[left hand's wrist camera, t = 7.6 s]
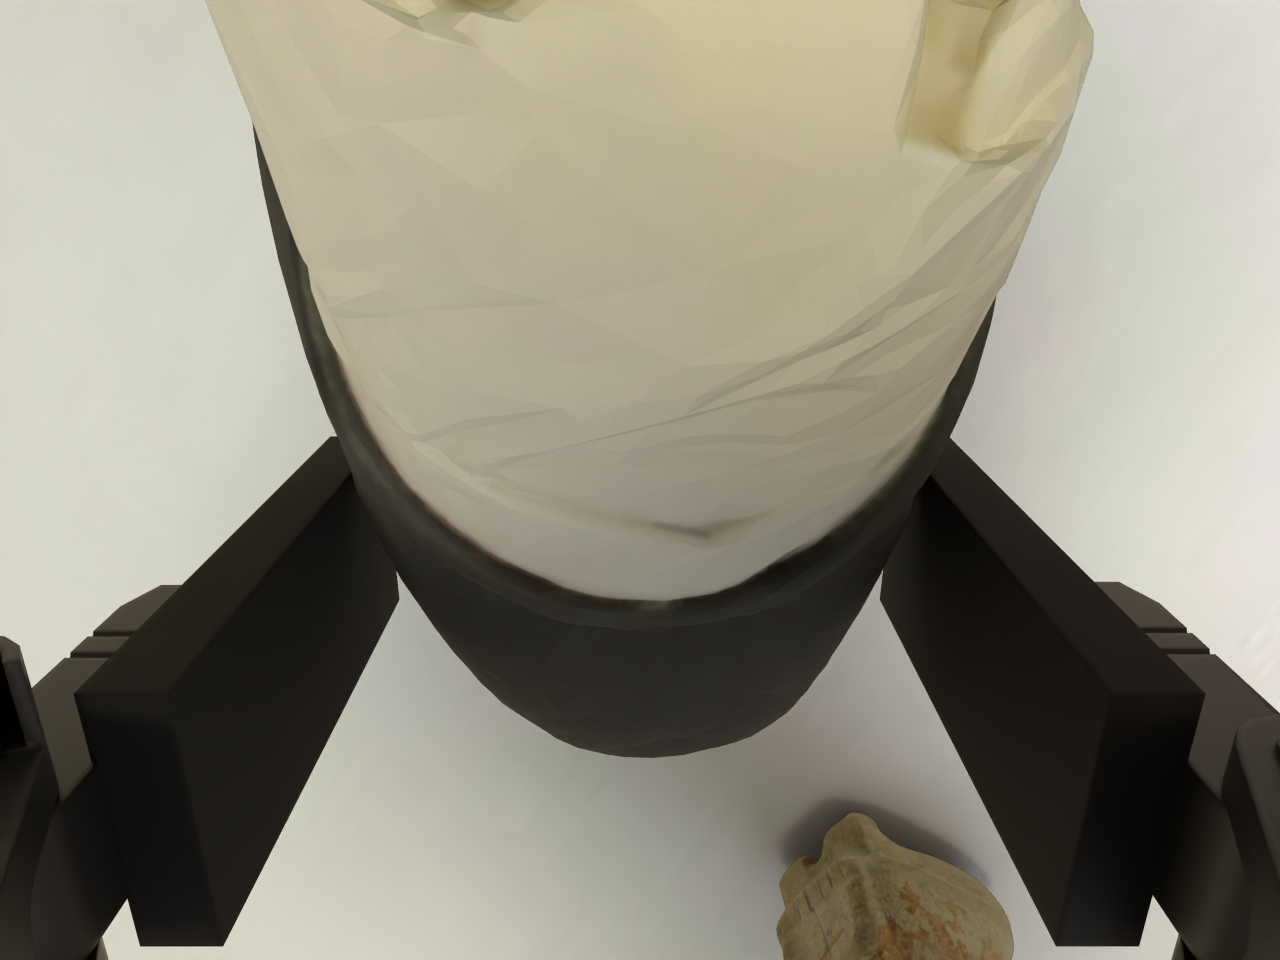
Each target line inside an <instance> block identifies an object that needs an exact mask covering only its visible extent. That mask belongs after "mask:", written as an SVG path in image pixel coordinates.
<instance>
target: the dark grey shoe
mask: <svg viewBox="0 0 1280 960" xmlns="http://www.w3.org/2000/svg"><path fill="white" fill-rule="evenodd" d="M205 2H206V4H207V7H208V9H209V12H210V14H211V17H212V19H213V22H214V24H215V27H216V30H217V32H218V35H219V37H220V40H221V42H222V45H223V47H224V50H225V52H226V55H227V57H228V60H229V63H230V65H231V68H232V70H233V73H234V75H235V78H236V80H237V83H238V85H239V88H240V90H241V93H242V96H243V98H244V101H245V103H246V106H247V108H248V111H249V113H250V116H251V119H252V122H253V130H254V137H255V143H256V150H257V156H258V163H259V169H260V174H261V180H262V186H263V191H264V196H265V200H266V205H267V209H268V214H269V218H270V223H271V227H272V232H273V236H274V241H275V245H276V250H277V254H278V259H279V263H280V266H281V270H282V273H283V277H284V280H285V284H286V287H287V291H288V294H289V298H290V301H291V305H292V308H293V312H294V316H295V319H296V323H297V326H298V330H299V333H300V337H301V340H302V344H303V347H304V351H305V354H306V357H307V360H308V363H309V366H310V368H311V371H312V374H313V377H314V379H315V382H316V385H317V388H318V391H319V394H320V397H321V399H322V401H323V404H324V407H325V410H326V412H327V415H328V417H329V419H330V421H331V423H332V425H333V428H334V430H335V432H336V434H337V436H338V439H339V441H340V444H341V447H342V449H343V452H344V454H345V457H346V459H347V462H348V465H349V467H350V470H351V473H352V476H353V480H354V483H355V487H356V491H357V494H358V497H359V499H360V501H361V503H362V505H363V508H364V510H365V512H366V514H367V516H368V518H369V520H370V523H371V525H372V527H373V529H374V531H375V533H376V535H377V537H378V538H379V540H380V542H381V544H382V546H383V547H384V549H385V551H386V553H387V554H388V556H389V558H390V560H391V562H392V563H393V565H394V567H395V569H396V571H397V572H398V574H399V576H400V578H401V579H402V581H403V583H404V584H405V585H406V587H407V588H408V590H409V591H410V592H411V594H412V595H413V597H414V598H415V600H416V601H417V602H418V604H419V605H420V607H421V608H422V610H423V611H424V613H425V614H426V615H427V617H428V618H429V620H430V621H431V623H432V624H433V626H434V627H435V628H436V630H437V631H438V632H439V634H440V635H441V636H442V637H443V639H444V640H445V641H446V643H447V644H448V645H449V647H450V648H451V649H452V650H453V652H454V653H455V654H456V655H457V656H458V657H459V658H460V659H461V660H462V662H463V663H464V664H465V665H466V666H467V667H468V668H469V669H470V670H471V671H472V673H473V674H474V675H475V676H476V677H477V679H478V680H479V681H480V682H481V683H482V684H483V685H484V686H485V687H486V688H487V689H488V690H490V691H491V692H492V693H493V694H494V695H495V696H496V697H497V698H498V699H499V700H500V701H501V702H502V703H503V704H504V705H506V706H507V707H509V708H510V709H512V710H513V711H515V712H516V713H518V714H520V715H521V716H523V717H524V718H526V719H527V720H529V721H531V722H532V723H534V724H535V725H537V726H539V727H540V728H542V729H543V730H545V731H547V732H548V733H550V734H551V735H552V736H554V737H555V738H557V739H559V740H562V741H564V742H566V743H568V744H571V745H573V746H575V747H577V748H582V749H586V750H590V751H595V752H599V753H603V754H608V755H615V756H622V757H645V758H655V757H666V756H676V755H685V754H689V753H693V752H697V751H701V750H706V749H710V748H715V747H720V746H723V745H727V744H730V743H734V742H737V741H739V740H742V739H745V738H748V737H751V736H752V735H754V734H756V733H757V732H759V731H760V730H762V729H764V728H765V727H767V726H769V725H770V724H772V723H773V722H774V721H776V720H777V719H779V718H780V717H781V716H783V715H784V714H786V713H787V712H788V711H789V710H790V709H791V708H792V707H793V706H794V705H795V704H796V702H797V701H798V700H799V699H800V698H801V696H802V695H803V694H804V693H805V692H806V691H807V690H808V689H809V687H810V686H811V684H812V683H813V681H814V680H815V678H816V677H817V676H818V675H819V674H820V672H821V671H822V670H823V669H824V667H825V666H826V665H827V663H828V661H829V659H830V657H831V656H832V654H833V653H834V651H835V650H836V648H837V647H838V646H839V644H840V642H841V641H842V639H843V637H844V636H845V634H846V633H847V631H848V629H849V628H850V626H851V624H852V623H853V621H854V620H855V618H856V617H857V615H858V614H859V612H860V610H861V608H862V607H863V605H864V603H865V601H866V600H867V598H868V596H869V594H870V592H871V590H872V588H873V587H874V585H875V583H876V581H877V580H878V578H879V576H880V574H881V572H882V570H883V568H884V566H885V564H886V563H887V561H888V559H889V557H890V555H891V552H892V551H893V549H894V547H895V545H896V544H897V542H898V540H899V539H900V537H901V535H902V533H903V531H904V528H905V526H906V523H907V521H908V519H909V516H910V512H911V509H912V506H913V503H914V500H915V497H916V494H917V491H918V490H919V489H920V488H921V487H922V485H923V484H924V483H925V481H926V479H927V478H928V476H929V475H930V473H931V471H932V470H933V468H934V467H935V465H936V464H937V462H938V460H939V458H940V456H941V454H942V452H943V450H944V448H945V446H946V443H947V441H948V439H949V437H950V435H951V433H952V431H953V429H954V427H955V425H956V423H957V420H958V418H959V416H960V414H961V411H962V409H963V407H964V404H965V402H966V400H967V397H968V395H969V393H970V391H971V388H972V386H973V384H974V381H975V377H976V374H977V370H978V367H979V363H980V360H981V356H982V353H983V350H984V346H985V343H986V339H987V336H988V332H989V329H990V325H991V321H992V316H993V311H994V305H995V299H996V295H997V293H998V291H999V289H1000V288H1001V287H1002V286H1003V285H1004V284H1005V282H1006V280H1007V277H1008V275H1009V272H1010V270H1011V267H1012V265H1013V262H1014V260H1015V257H1016V255H1017V253H1018V250H1019V248H1020V245H1021V243H1022V240H1023V238H1024V235H1025V233H1026V230H1027V228H1028V225H1029V223H1030V221H1031V218H1032V215H1033V213H1034V210H1035V207H1036V204H1037V202H1038V199H1039V196H1040V193H1041V191H1042V189H1043V187H1044V185H1045V183H1046V181H1047V179H1048V177H1049V175H1050V173H1051V171H1052V170H1053V168H1054V166H1055V164H1056V162H1057V160H1058V158H1059V156H1060V154H1061V151H1062V148H1063V144H1064V141H1065V138H1066V135H1067V132H1068V129H1069V126H1070V123H1071V120H1072V117H1073V114H1074V111H1075V107H1076V104H1077V101H1078V98H1079V95H1080V92H1081V89H1082V86H1083V83H1084V79H1085V76H1086V73H1087V70H1088V67H1089V64H1090V61H1091V58H1092V55H1093V29H1092V27H1091V25H1090V24H1089V22H1088V20H1087V18H1086V16H1085V14H1084V12H1083V10H1082V8H1081V6H1080V0H205Z"/></svg>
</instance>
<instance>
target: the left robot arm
mask: <svg viewBox="0 0 1280 960" xmlns="http://www.w3.org/2000/svg"><path fill="white" fill-rule="evenodd" d="M398 601H399V592H398V582H397V573H396V569H395V567H394V565H393V563H392V562H391V560H390V558H389V556H388V554H387V553H386V551H385V549H384V547H383V546H382V544H381V542H380V540H379V538H378V537H377V535H376V533H375V531H374V529H373V527H372V525H371V523H370V520H369V518H368V516H367V514H366V512H365V510H364V508H363V505H362V503H361V501H360V499H359V497H358V494H357V491H356V487H355V483H354V480H353V476H352V473H351V470H350V467H349V465H348V462H347V459H346V457H345V454H344V452H343V449H342V447H341V444H340V441H339V439H338V437H330V438H329V439H328V440H327V441H326V442H325V443H324V444H323V445H322V446H321V447H320V448H319V449H318V450H317V451H316V452H315V453H314V454H313V455H312V456H311V457H310V458H309V459H308V460H307V461H306V462H305V463H304V464H303V465H302V466H301V467H300V468H299V469H298V470H297V471H296V472H295V473H294V474H293V475H292V476H291V477H290V478H289V479H288V480H287V481H286V482H285V483H284V484H283V485H282V486H281V487H280V488H279V489H278V490H277V491H276V492H275V493H274V494H273V495H272V496H271V497H270V498H269V499H268V500H267V501H266V502H265V503H264V504H263V505H262V506H261V507H260V508H259V509H258V510H257V511H256V512H255V513H254V514H253V515H252V516H251V517H250V518H249V519H248V520H247V521H246V522H245V523H244V524H243V525H242V526H241V527H240V528H239V529H238V530H237V531H236V532H235V533H234V534H233V535H232V536H231V537H230V538H229V539H228V540H226V541H225V542H224V543H223V544H222V545H221V546H220V547H219V548H218V549H217V550H216V551H215V552H214V553H213V554H212V555H211V556H210V557H209V558H208V559H207V560H206V561H205V562H204V563H203V564H202V565H201V566H200V567H199V568H198V569H197V570H196V571H195V572H194V573H193V574H192V575H191V576H190V577H189V578H188V579H187V580H186V581H185V582H184V583H183V584H182V585H160V586H158V587H157V588H155V589H153V590H151V591H149V592H147V593H145V594H143V595H141V596H139V597H138V598H136V599H134V600H132V601H130V602H128V603H126V604H124V605H122V606H120V607H119V608H118V609H117V610H116V611H115V612H114V613H113V614H112V615H111V616H110V617H109V618H107V619H106V620H105V621H104V622H103V623H102V624H101V625H100V626H99V627H98V628H97V629H95V630H94V631H93V637H87V638H86V639H85V640H84V641H82V642H81V643H80V644H79V645H78V646H77V647H76V648H75V649H74V650H73V651H72V652H71V653H70V654H71V656H70V658H64V659H63V660H62V661H61V662H60V663H59V664H58V665H56V666H55V667H54V668H53V669H52V670H51V671H50V672H49V673H48V674H47V675H46V676H45V677H43V678H42V679H41V680H40V681H39V682H38V683H37V684H36V685H35V686H34V687H33V688H31V685H30V681H29V678H28V674H27V670H26V667H25V663H24V660H23V656H22V653H21V649H20V646H19V645H18V644H16V643H14V642H13V641H11V640H10V639H8V638H6V637H5V636H0V960H108V956H107V953H106V949H105V946H104V942H103V939H102V936H103V934H104V933H105V931H106V930H107V928H108V927H109V925H110V924H111V922H112V921H113V919H114V918H115V916H116V915H117V913H118V912H119V910H120V909H121V907H122V906H123V904H124V903H125V901H126V900H127V898H128V902H129V906H130V910H131V913H132V917H133V921H134V925H135V929H136V932H137V936H138V940H139V944H140V946H223V945H224V944H225V942H226V940H227V938H228V936H229V934H230V932H231V930H232V928H233V926H234V924H235V922H236V920H237V918H238V916H239V914H240V912H241V910H242V908H243V906H244V904H245V902H246V900H247V898H248V896H249V894H250V892H251V890H252V888H253V886H254V885H255V883H256V881H257V879H258V877H259V875H260V873H261V871H262V869H263V867H264V865H265V863H266V861H267V859H268V857H269V855H270V853H271V851H272V849H273V847H274V845H275V843H276V841H277V839H278V837H279V835H280V833H281V831H282V829H283V827H284V826H285V824H286V822H287V820H288V818H289V816H290V814H291V812H292V810H293V808H294V806H295V804H296V802H297V800H298V798H299V796H300V794H301V792H302V790H303V788H304V786H305V784H306V782H307V780H308V778H309V776H310V774H311V772H312V770H313V768H314V767H315V765H316V763H317V761H318V759H319V757H320V755H321V753H322V751H323V749H324V747H325V745H326V743H327V741H328V739H329V737H330V735H331V733H332V731H333V729H334V727H335V725H336V723H337V721H338V719H339V717H340V715H341V713H342V711H343V709H344V708H345V706H346V704H347V702H348V700H349V698H350V696H351V694H352V692H353V690H354V688H355V686H356V684H357V682H358V680H359V678H360V676H361V674H362V672H363V670H364V668H365V666H366V664H367V662H368V660H369V658H370V656H371V654H372V652H373V650H374V649H375V647H376V645H377V643H378V641H379V639H380V637H381V635H382V633H383V631H384V629H385V627H386V625H387V623H388V621H389V619H390V617H391V615H392V613H393V611H394V609H395V607H396V605H397V603H398ZM880 601H881V603H882V605H883V607H884V609H885V611H886V613H887V615H888V617H889V619H890V620H891V622H892V624H893V626H894V628H895V630H896V632H897V634H898V636H899V638H900V640H901V642H902V644H903V646H904V648H905V650H906V652H907V654H908V656H909V658H910V660H911V662H912V664H913V666H914V668H915V670H916V672H917V674H918V676H919V678H920V680H921V681H922V683H923V685H924V687H925V689H926V691H927V693H928V695H929V697H930V699H931V701H932V703H933V705H934V707H935V709H936V711H937V713H938V715H939V717H940V719H941V721H942V723H943V725H944V727H945V729H946V731H947V733H948V735H949V737H950V739H951V740H952V742H953V744H954V746H955V748H956V750H957V752H958V754H959V756H960V758H961V760H962V762H963V764H964V766H965V768H966V770H967V772H968V774H969V776H970V778H971V780H972V782H973V784H974V786H975V788H976V790H977V792H978V794H979V796H980V798H981V799H982V801H983V803H984V805H985V807H986V809H987V811H988V813H989V815H990V817H991V819H992V821H993V823H994V825H995V827H996V829H997V831H998V833H999V835H1000V837H1001V839H1002V841H1003V843H1004V845H1005V847H1006V849H1007V851H1008V853H1009V855H1010V857H1011V859H1012V860H1013V862H1014V864H1015V866H1016V868H1017V870H1018V872H1019V874H1020V876H1021V878H1022V880H1023V882H1024V884H1025V886H1026V888H1027V890H1028V892H1029V894H1030V896H1031V898H1032V900H1033V902H1034V904H1035V906H1036V908H1037V910H1038V912H1039V914H1040V916H1041V918H1042V919H1043V921H1044V923H1045V925H1046V927H1047V929H1048V931H1049V933H1050V935H1051V937H1052V939H1053V941H1054V943H1055V945H1056V946H1139V944H1140V940H1141V937H1142V933H1143V929H1144V925H1145V922H1146V918H1147V914H1148V910H1149V906H1150V903H1151V899H1152V895H1153V896H1154V897H1155V899H1156V900H1157V902H1158V903H1159V905H1160V906H1161V908H1162V909H1163V911H1164V912H1165V914H1166V915H1167V917H1168V918H1169V920H1170V921H1171V923H1172V924H1173V926H1174V927H1175V929H1176V930H1177V932H1178V933H1179V935H1178V939H1177V942H1176V946H1175V949H1174V953H1173V956H1172V960H1280V713H1279V712H1278V711H1277V710H1276V709H1275V708H1273V707H1272V706H1271V705H1270V704H1269V703H1268V702H1267V701H1266V700H1265V699H1264V698H1263V697H1261V696H1260V695H1259V694H1258V693H1257V692H1256V691H1255V690H1254V689H1253V688H1252V687H1250V686H1249V685H1248V684H1247V683H1246V682H1245V681H1244V680H1243V679H1242V678H1241V677H1240V676H1238V675H1237V674H1236V673H1235V672H1234V671H1233V670H1232V669H1231V668H1230V667H1229V666H1228V665H1226V664H1225V663H1224V662H1223V661H1222V660H1221V659H1220V658H1219V657H1218V656H1217V655H1216V654H1210V652H1209V650H1210V649H1209V648H1208V647H1207V646H1206V645H1205V644H1203V643H1202V642H1201V641H1200V640H1199V639H1198V638H1197V637H1196V636H1195V635H1194V634H1193V633H1187V628H1186V627H1185V626H1184V625H1183V624H1182V623H1181V622H1179V621H1178V620H1177V619H1176V618H1175V617H1174V616H1173V615H1172V614H1171V613H1170V612H1168V611H1167V610H1166V609H1165V608H1164V607H1163V606H1162V605H1161V604H1160V603H1158V602H1156V601H1154V600H1152V599H1150V598H1148V597H1147V596H1145V595H1143V594H1141V593H1139V592H1137V591H1135V590H1133V589H1131V588H1129V587H1127V586H1126V585H1124V584H1122V583H1120V582H1094V581H1093V580H1092V579H1091V578H1090V577H1089V576H1088V575H1087V574H1086V573H1085V572H1084V571H1083V570H1082V569H1081V568H1080V567H1079V566H1078V565H1077V564H1076V563H1075V562H1074V561H1073V560H1072V559H1071V558H1070V557H1069V556H1068V555H1067V554H1066V553H1065V552H1064V551H1063V550H1062V549H1061V548H1060V547H1059V546H1058V545H1057V544H1056V543H1055V542H1054V541H1053V540H1052V539H1051V538H1050V537H1049V536H1048V535H1047V534H1046V533H1045V532H1044V531H1043V530H1042V529H1041V528H1040V527H1039V526H1038V525H1037V524H1036V523H1035V522H1034V521H1033V520H1032V519H1031V518H1030V517H1029V516H1028V515H1027V514H1026V513H1025V512H1024V511H1023V510H1022V509H1021V508H1020V507H1019V506H1018V505H1017V504H1016V503H1015V502H1014V501H1013V500H1012V499H1011V498H1010V497H1009V496H1008V495H1007V494H1006V493H1005V492H1004V491H1003V490H1002V489H1001V488H1000V487H999V486H998V485H997V484H996V483H995V482H994V481H993V480H992V479H991V478H990V477H989V476H988V475H987V474H986V473H985V472H984V471H983V470H982V469H981V468H980V467H979V466H978V465H977V464H976V463H975V462H974V461H973V460H972V459H971V458H970V457H969V456H968V455H967V454H966V453H965V452H964V451H963V450H962V449H961V448H960V447H959V446H958V445H957V444H956V443H955V442H954V441H953V440H952V439H951V438H950V437H949V439H948V441H947V443H946V446H945V448H944V450H943V452H942V454H941V456H940V458H939V460H938V462H937V464H936V465H935V467H934V468H933V470H932V471H931V473H930V475H929V476H928V478H927V479H926V481H925V483H924V484H923V485H922V487H921V488H920V489H919V490H918V491H917V494H916V497H915V500H914V503H913V506H912V509H911V512H910V516H909V519H908V521H907V523H906V526H905V528H904V531H903V533H902V535H901V537H900V539H899V540H898V542H897V544H896V545H895V547H894V549H893V551H892V552H891V555H890V557H889V559H888V561H887V563H886V564H885V566H884V568H883V575H882V585H881V594H880Z"/></svg>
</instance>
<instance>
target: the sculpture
mask: <svg viewBox="0 0 1280 960" xmlns="http://www.w3.org/2000/svg"><path fill="white" fill-rule="evenodd" d="M780 889H781V893H782V897H783V900H784V904H785V908H786V910H785V911H784V913H783V915H782V916H781V918H780V920H779V922H778V926H777V936H778V939H779V942H780V944H781V947H782V950H783V957H784V960H1011V959H1012V956H1013V949H1014V942H1013V937H1012V931H1011V926H1010V923H1009V920H1008V917H1007V915H1006V914H1005V912H1004V910H1003V908H1002V906H1001V905H1000V904H999V902H998V901H997V900H996V898H995V897H994V896H993V894H992V893H991V892H990V891H989V890H988V889H987V888H986V887H985V886H984V885H983V884H981V883H980V882H979V881H978V880H976V879H975V878H973V877H972V876H971V875H969V874H967V873H966V872H964V871H962V870H960V869H959V868H957V867H955V866H953V865H951V864H949V863H947V862H945V861H942V860H940V859H938V858H935V857H933V856H930V855H927V854H923V853H919V852H916V851H913V850H910V849H907V848H905V847H902V846H899V845H897V844H896V843H894V842H893V841H891V840H890V839H889V838H888V837H886V836H885V835H883V834H882V833H881V832H880V831H879V829H878V827H877V825H876V823H875V822H874V821H873V820H872V819H871V818H870V817H868V816H866V815H864V814H861V813H855V812H853V813H849V814H848V815H847V816H846V817H844V818H843V819H842V820H841V821H839V822H838V823H837V824H836V825H834V826H833V827H832V828H830V829H829V830H828V832H827V833H826V834H825V836H824V839H823V850H822V854H821V857H820V860H819V859H818V858H817V857H815V856H802V857H800V858H799V859H798V860H797V861H796V862H794V863H793V864H792V865H791V866H790V867H789V869H788V870H787V871H786V872H785V874H784V875H783V876H782V878H781V880H780Z"/></svg>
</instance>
